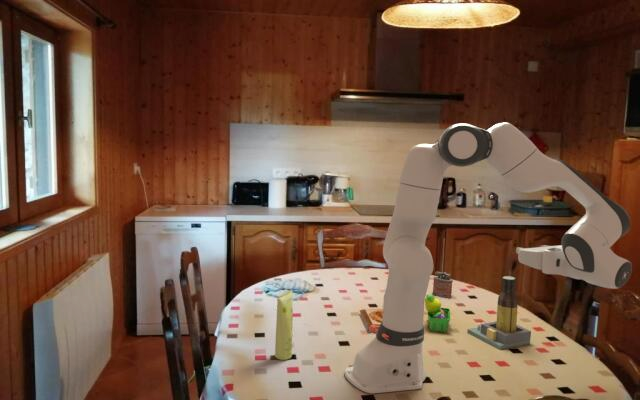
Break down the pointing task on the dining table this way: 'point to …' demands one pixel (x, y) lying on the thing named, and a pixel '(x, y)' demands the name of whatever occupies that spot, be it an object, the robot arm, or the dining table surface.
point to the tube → (284, 327)
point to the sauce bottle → (507, 306)
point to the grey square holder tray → (495, 343)
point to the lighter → (442, 285)
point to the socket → (505, 334)
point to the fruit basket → (437, 314)
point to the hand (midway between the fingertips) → (529, 248)
